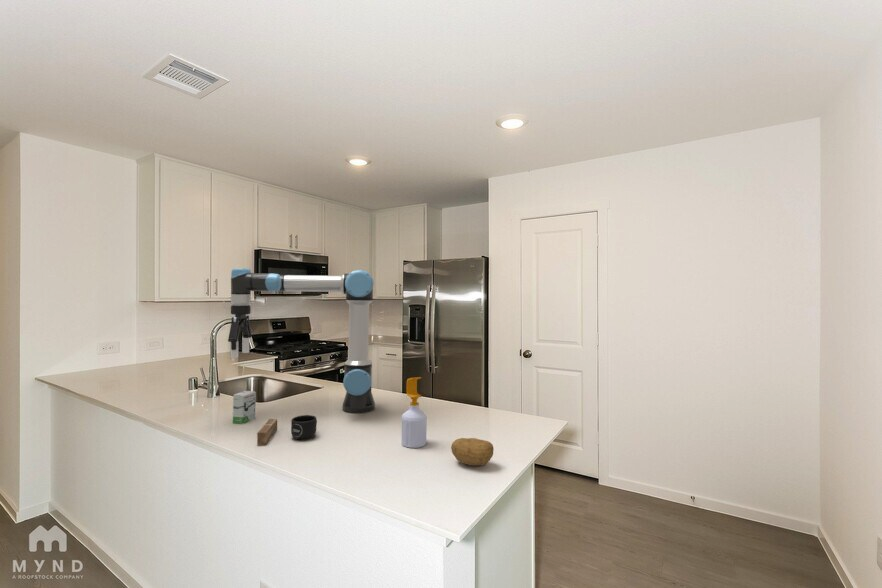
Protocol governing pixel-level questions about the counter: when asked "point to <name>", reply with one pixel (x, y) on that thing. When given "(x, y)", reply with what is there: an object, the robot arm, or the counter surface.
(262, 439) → the long brown box
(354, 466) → the counter surface
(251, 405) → the ink box
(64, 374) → the counter surface
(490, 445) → the potato
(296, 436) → the mug
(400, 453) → the counter surface
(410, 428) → the soap bottle
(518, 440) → the counter surface
